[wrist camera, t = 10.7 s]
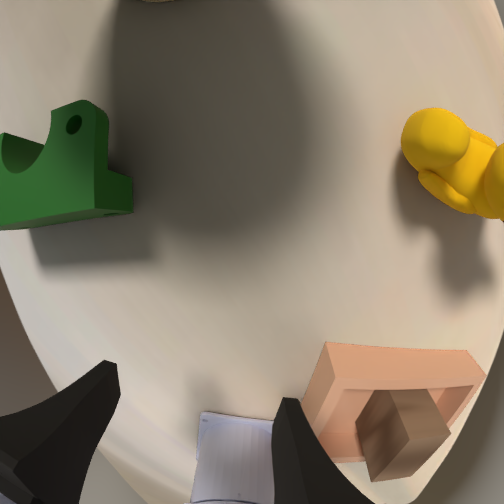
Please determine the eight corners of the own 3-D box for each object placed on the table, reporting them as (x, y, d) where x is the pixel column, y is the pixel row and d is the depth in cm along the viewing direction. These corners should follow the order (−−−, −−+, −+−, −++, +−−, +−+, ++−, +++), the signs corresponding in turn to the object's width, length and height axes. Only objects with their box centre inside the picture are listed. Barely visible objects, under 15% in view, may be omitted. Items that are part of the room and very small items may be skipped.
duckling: (504, 173, 16) (598, 199, 7) (482, 232, 18) (571, 284, 9) (397, 92, 15) (499, 59, 6) (369, 164, 17) (467, 184, 8)
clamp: (134, 142, 21) (131, 91, 13) (135, 216, 22) (129, 204, 13) (3, 160, 17) (-52, 128, 9) (2, 232, 18) (-59, 231, 9)
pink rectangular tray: (416, 427, 25) (428, 452, 21) (289, 429, 25) (291, 462, 21) (466, 350, 22) (486, 375, 18) (325, 342, 21) (335, 377, 18)
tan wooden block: (390, 420, 23) (410, 476, 17) (355, 421, 23) (371, 482, 17) (419, 376, 21) (451, 433, 15) (382, 375, 21) (409, 439, 15)
